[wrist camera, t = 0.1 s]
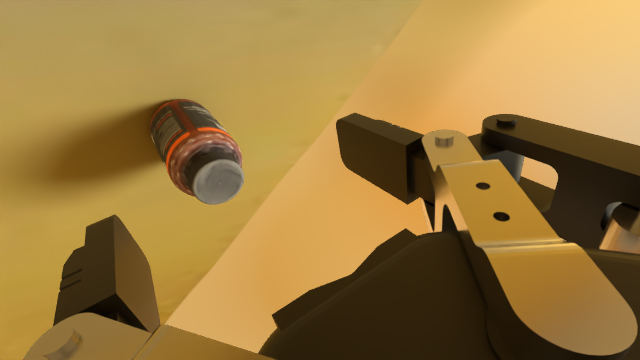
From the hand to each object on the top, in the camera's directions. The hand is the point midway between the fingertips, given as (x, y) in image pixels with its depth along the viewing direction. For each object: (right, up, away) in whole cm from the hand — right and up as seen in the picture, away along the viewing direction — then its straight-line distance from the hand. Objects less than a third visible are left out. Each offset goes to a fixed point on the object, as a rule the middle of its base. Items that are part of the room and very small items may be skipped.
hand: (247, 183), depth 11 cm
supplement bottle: (-11, +6, +20) cm, 24 cm away
